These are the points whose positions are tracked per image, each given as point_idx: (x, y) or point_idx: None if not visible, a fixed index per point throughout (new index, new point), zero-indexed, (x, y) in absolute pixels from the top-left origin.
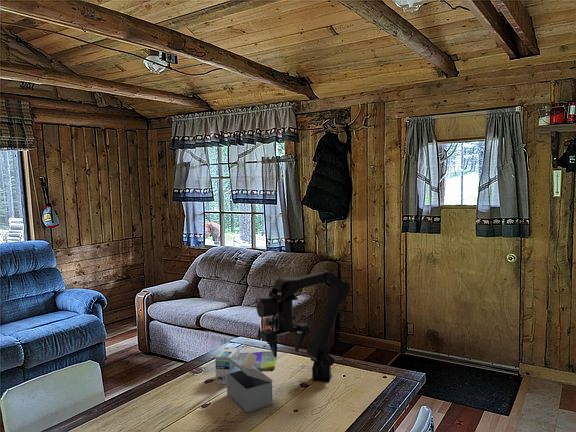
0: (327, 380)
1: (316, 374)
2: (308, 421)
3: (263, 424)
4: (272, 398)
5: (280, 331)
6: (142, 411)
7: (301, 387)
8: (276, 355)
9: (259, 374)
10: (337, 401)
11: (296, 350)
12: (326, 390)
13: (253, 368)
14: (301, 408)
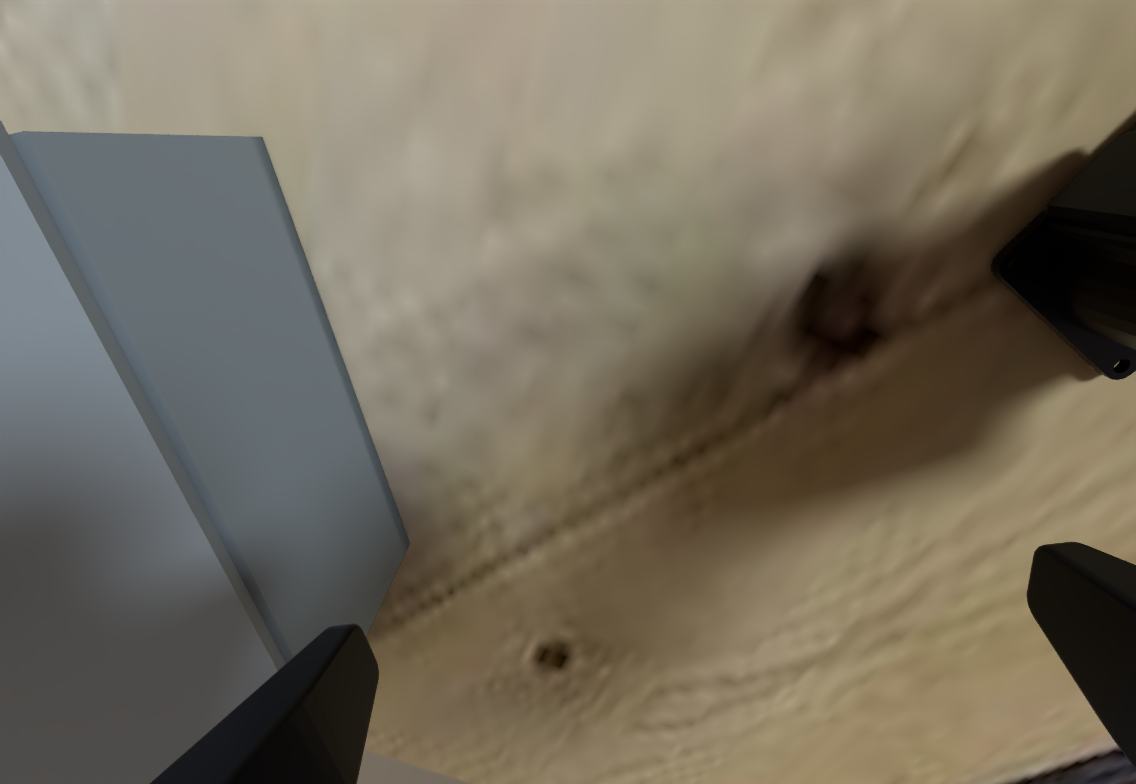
0: (1118, 359)
1: (1095, 278)
2: (575, 771)
3: None
4: (391, 582)
5: None
6: None
7: (780, 355)
8: (362, 742)
9: (109, 753)
10: (892, 671)
11: (1067, 628)
12: (950, 503)
13: (11, 469)
14: (600, 652)
